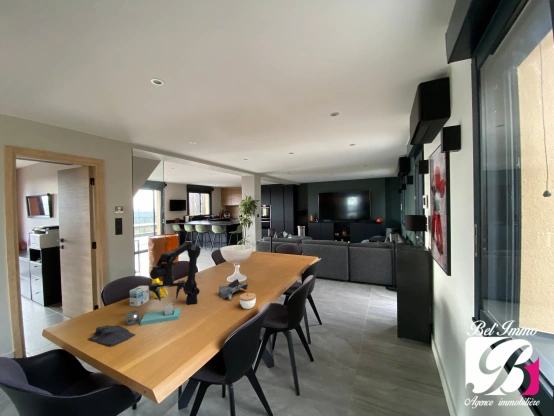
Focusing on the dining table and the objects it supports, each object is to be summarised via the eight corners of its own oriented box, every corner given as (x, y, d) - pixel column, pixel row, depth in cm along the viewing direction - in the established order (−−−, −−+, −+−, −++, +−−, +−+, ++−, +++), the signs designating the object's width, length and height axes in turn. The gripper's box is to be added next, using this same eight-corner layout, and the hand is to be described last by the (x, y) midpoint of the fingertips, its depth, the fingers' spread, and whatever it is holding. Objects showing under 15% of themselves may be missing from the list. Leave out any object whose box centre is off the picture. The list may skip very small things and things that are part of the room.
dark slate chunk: (106, 353, 106) (106, 343, 106) (85, 340, 117) (84, 331, 117) (139, 336, 119) (139, 327, 119) (117, 326, 130) (117, 318, 130)
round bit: (141, 320, 135) (140, 310, 135) (137, 325, 129) (137, 315, 129) (128, 321, 134) (128, 311, 134) (124, 327, 127) (124, 316, 127)
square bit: (173, 315, 140) (172, 302, 140) (172, 318, 136) (171, 305, 136) (166, 316, 139) (165, 303, 139) (165, 319, 135) (164, 306, 135)
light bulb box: (137, 306, 154) (137, 291, 154) (129, 306, 155) (128, 290, 155) (149, 300, 164) (149, 285, 164) (141, 299, 166) (141, 285, 166)
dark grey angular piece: (216, 295, 171) (216, 283, 171) (239, 288, 184) (239, 277, 184) (228, 302, 158) (228, 289, 157) (252, 294, 171) (251, 282, 171)
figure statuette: (170, 297, 168) (169, 268, 168) (161, 301, 161) (160, 271, 161) (155, 293, 177) (155, 265, 176) (146, 297, 170) (145, 268, 170)
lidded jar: (259, 307, 148) (259, 292, 148) (247, 313, 141) (246, 298, 140) (249, 302, 156) (248, 289, 156) (236, 308, 148) (236, 293, 148)
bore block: (180, 311, 145) (180, 307, 145) (178, 320, 134) (178, 315, 134) (145, 316, 139) (145, 312, 139) (140, 325, 128) (140, 321, 128)
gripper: (185, 268, 148) (186, 292, 148) (153, 272, 142) (154, 296, 143) (183, 273, 137) (184, 299, 137) (149, 277, 132) (150, 303, 132)
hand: (168, 299), depth 138 cm, fingers open, 9 cm apart
